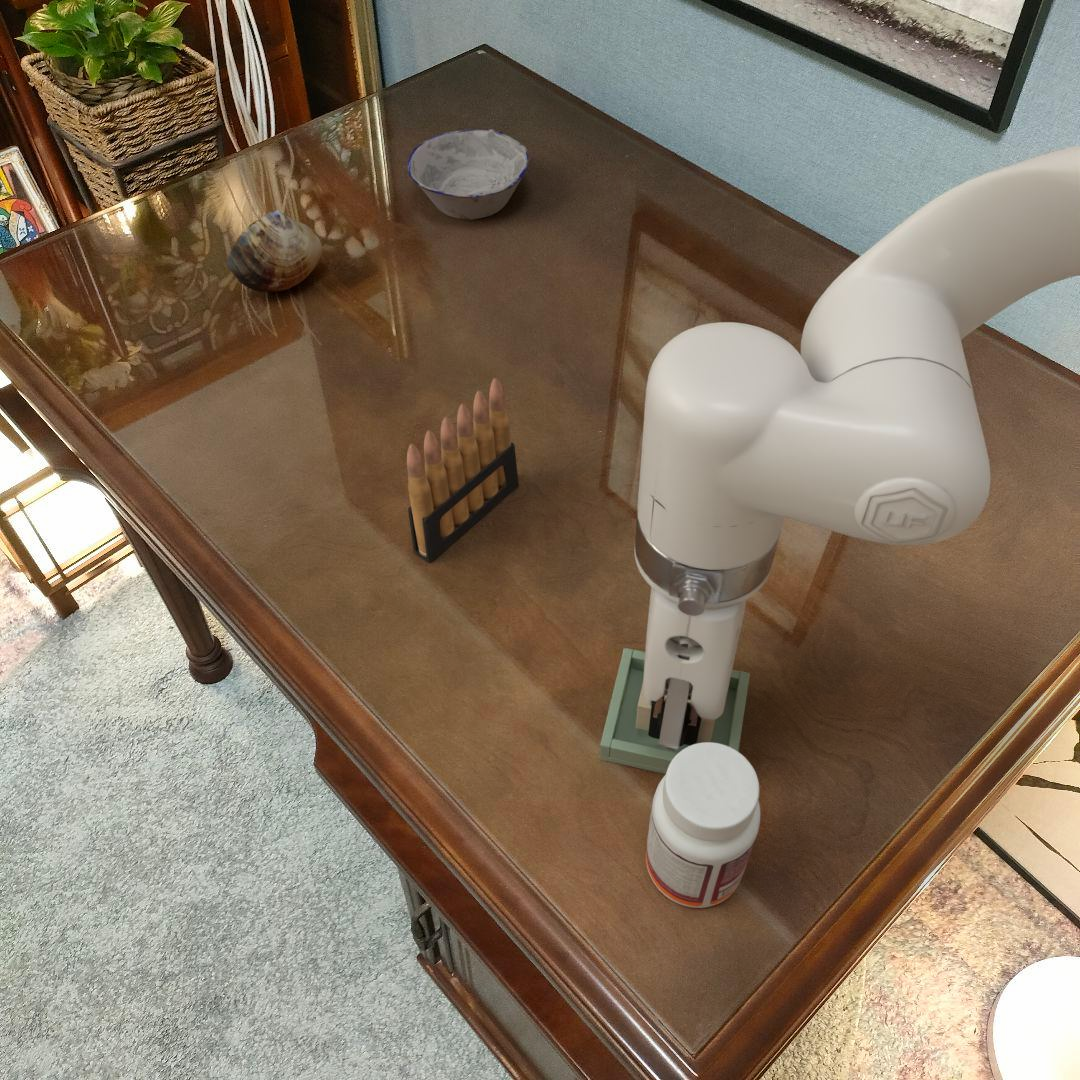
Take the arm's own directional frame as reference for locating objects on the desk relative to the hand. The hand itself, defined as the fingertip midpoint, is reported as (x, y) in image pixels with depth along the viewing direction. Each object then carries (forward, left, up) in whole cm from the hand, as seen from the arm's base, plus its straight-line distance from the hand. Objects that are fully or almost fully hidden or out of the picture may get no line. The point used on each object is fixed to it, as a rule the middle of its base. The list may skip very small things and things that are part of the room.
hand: (678, 706), depth 69 cm
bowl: (+33, -58, -2) cm, 67 cm away
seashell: (+47, -39, -2) cm, 61 cm away
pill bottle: (-3, +10, -2) cm, 10 cm away
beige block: (0, 0, 0) cm, 0 cm away
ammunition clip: (+20, -14, -2) cm, 24 cm away
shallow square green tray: (0, 0, -2) cm, 2 cm away
